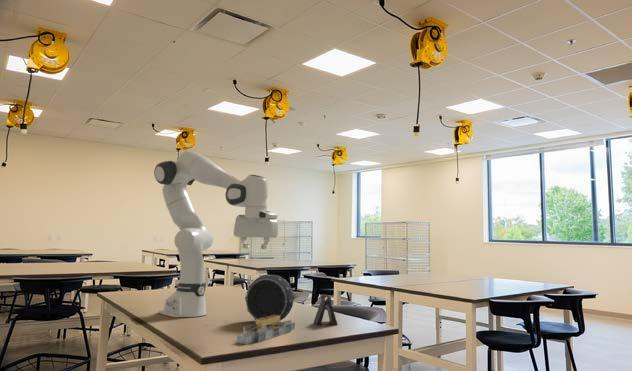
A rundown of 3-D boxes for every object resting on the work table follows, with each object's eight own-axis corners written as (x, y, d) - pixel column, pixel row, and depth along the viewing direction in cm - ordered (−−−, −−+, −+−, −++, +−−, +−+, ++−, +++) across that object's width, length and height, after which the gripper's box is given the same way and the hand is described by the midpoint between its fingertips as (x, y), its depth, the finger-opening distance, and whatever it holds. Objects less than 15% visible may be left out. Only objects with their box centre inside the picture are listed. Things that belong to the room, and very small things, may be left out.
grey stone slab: (249, 345, 141) (249, 332, 142) (233, 342, 145) (233, 329, 145) (297, 329, 167) (298, 318, 168) (283, 327, 171) (283, 316, 171)
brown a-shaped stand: (316, 325, 175) (317, 296, 176) (313, 322, 181) (314, 294, 182) (337, 325, 177) (338, 295, 178) (333, 322, 183) (334, 293, 184)
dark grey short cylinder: (288, 327, 171) (290, 276, 173) (241, 323, 175) (243, 274, 177) (295, 322, 181) (296, 274, 183) (250, 319, 185) (252, 272, 188)
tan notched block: (261, 338, 151) (262, 320, 151) (255, 337, 152) (255, 319, 153) (279, 333, 160) (280, 315, 161) (273, 332, 161) (273, 314, 162)
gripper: (231, 214, 174) (229, 248, 173) (271, 213, 164) (269, 249, 162) (241, 214, 180) (239, 247, 178) (280, 214, 169) (279, 249, 168)
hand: (254, 248), depth 170 cm, fingers open, 8 cm apart
